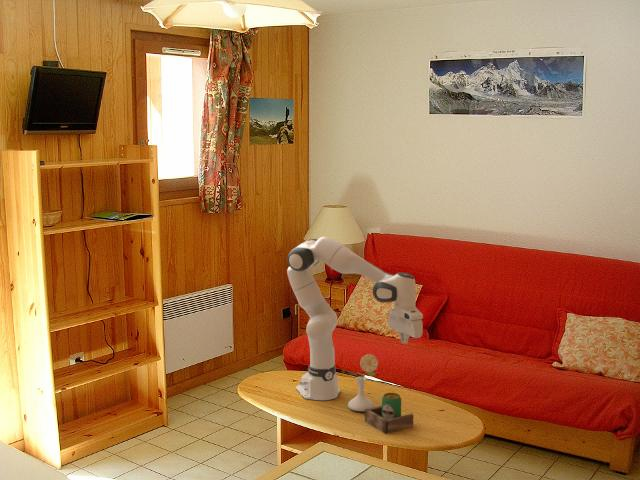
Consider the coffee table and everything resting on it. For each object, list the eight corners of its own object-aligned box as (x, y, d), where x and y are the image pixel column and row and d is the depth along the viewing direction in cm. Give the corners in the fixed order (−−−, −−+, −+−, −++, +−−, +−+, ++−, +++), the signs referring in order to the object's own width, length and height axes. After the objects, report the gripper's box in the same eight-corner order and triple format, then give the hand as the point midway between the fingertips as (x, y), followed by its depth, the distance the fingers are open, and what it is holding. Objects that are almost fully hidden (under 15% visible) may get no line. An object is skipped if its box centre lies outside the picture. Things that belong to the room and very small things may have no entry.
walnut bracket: (364, 420, 318) (364, 409, 318) (392, 414, 325) (392, 403, 324) (385, 433, 306) (385, 421, 305) (413, 426, 312) (413, 415, 312)
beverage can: (378, 424, 315) (378, 396, 313) (387, 418, 321) (387, 390, 319) (395, 428, 311) (396, 400, 309) (404, 421, 317) (404, 394, 315)
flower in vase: (346, 413, 327) (346, 357, 323) (349, 403, 338) (349, 349, 334) (376, 414, 325) (377, 358, 321) (378, 404, 336) (379, 350, 332)
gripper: (384, 306, 328) (384, 337, 330) (413, 317, 310) (412, 350, 312) (396, 304, 331) (396, 335, 333) (425, 315, 313) (424, 347, 315)
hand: (404, 342), depth 323 cm, fingers closed
